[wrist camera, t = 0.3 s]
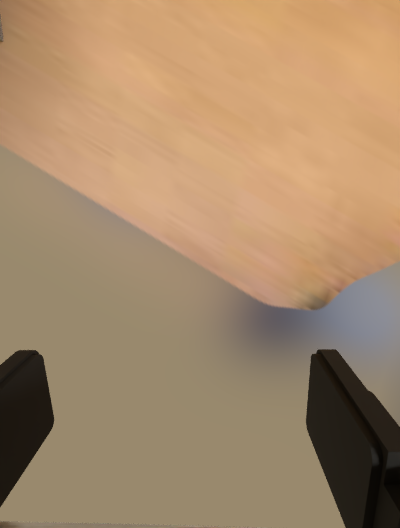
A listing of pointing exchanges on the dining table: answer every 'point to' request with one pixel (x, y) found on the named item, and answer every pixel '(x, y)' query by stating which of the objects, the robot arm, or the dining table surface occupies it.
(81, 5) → the dining table surface
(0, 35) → the tower bottom
